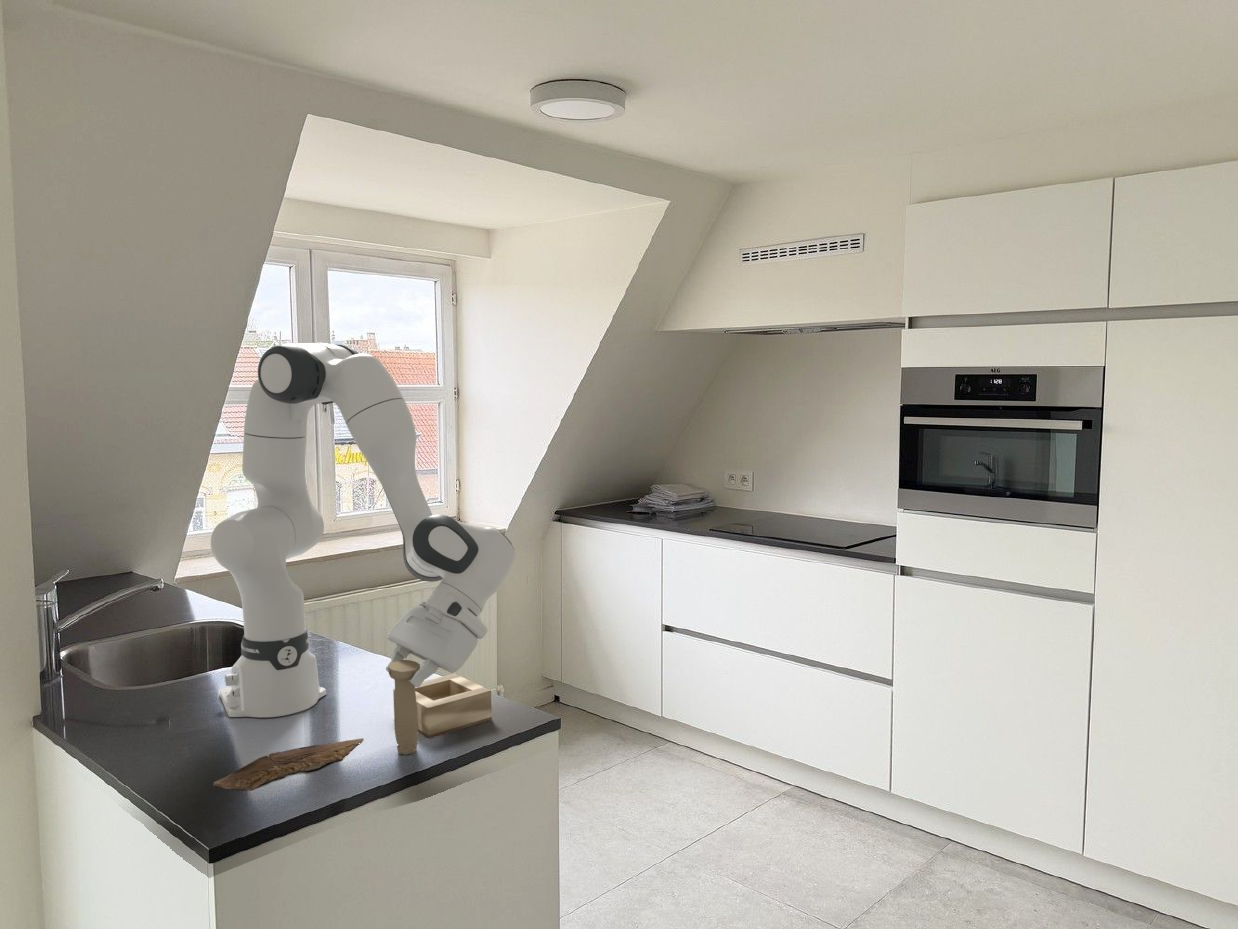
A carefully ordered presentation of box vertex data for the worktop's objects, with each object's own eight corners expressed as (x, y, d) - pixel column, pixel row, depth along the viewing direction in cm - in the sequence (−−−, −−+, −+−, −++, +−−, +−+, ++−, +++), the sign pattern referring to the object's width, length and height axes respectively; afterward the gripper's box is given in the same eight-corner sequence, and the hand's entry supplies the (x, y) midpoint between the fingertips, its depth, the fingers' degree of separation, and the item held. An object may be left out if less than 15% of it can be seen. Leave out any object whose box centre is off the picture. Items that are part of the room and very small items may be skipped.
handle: (400, 761, 153) (396, 673, 151) (387, 748, 158) (383, 663, 156) (427, 754, 155) (425, 668, 154) (414, 742, 161) (410, 658, 159)
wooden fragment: (226, 799, 140) (226, 793, 140) (202, 777, 149) (202, 771, 148) (381, 752, 157) (381, 746, 157) (352, 734, 166) (352, 729, 166)
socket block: (394, 718, 172) (393, 689, 171) (455, 701, 180) (454, 673, 180) (428, 738, 162) (427, 707, 161) (491, 720, 170) (491, 690, 170)
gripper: (409, 590, 166) (360, 654, 161) (469, 612, 151) (418, 683, 146) (432, 610, 170) (385, 673, 164) (493, 633, 154) (443, 704, 149)
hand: (401, 678), depth 155 cm, fingers closed on handle, 6 cm apart
